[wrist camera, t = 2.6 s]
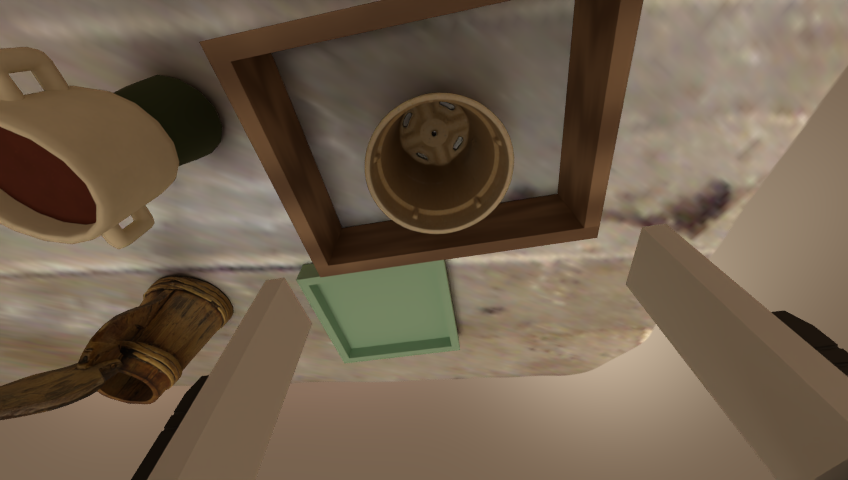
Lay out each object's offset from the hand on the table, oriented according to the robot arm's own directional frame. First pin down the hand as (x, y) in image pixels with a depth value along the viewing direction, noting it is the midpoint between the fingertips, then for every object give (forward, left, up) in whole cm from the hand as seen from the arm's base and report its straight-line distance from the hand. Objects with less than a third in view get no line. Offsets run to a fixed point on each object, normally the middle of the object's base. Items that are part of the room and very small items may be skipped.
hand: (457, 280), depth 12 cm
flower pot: (0, 0, -18) cm, 18 cm away
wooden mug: (+13, -32, -18) cm, 39 cm away
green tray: (+20, -9, -18) cm, 28 cm away
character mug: (-5, -20, -18) cm, 28 cm away
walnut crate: (0, 0, -18) cm, 18 cm away
